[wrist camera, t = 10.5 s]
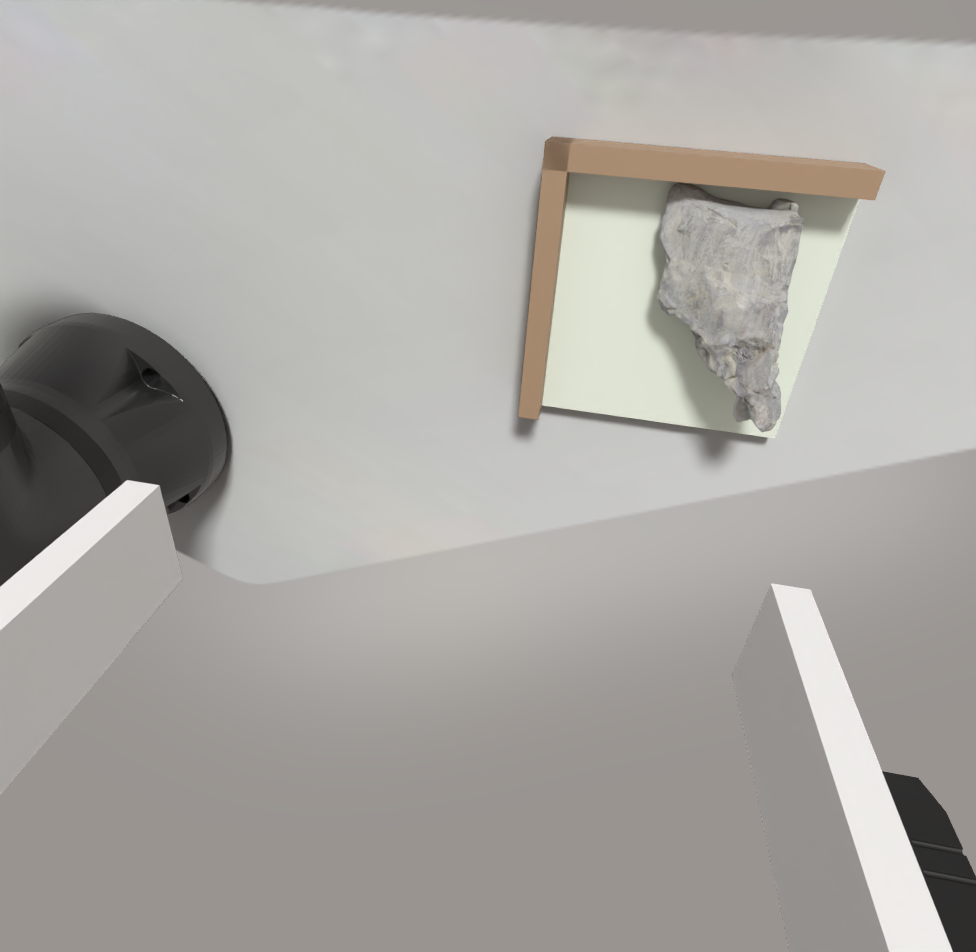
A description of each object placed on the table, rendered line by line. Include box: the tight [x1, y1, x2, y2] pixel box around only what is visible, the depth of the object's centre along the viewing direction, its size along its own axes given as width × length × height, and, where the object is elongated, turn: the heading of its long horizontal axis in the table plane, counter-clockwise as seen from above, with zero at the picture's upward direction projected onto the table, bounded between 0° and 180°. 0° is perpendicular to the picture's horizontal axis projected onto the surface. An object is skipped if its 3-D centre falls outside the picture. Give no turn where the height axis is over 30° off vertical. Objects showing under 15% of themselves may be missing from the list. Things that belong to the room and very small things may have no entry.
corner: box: [518, 137, 885, 438], centre depth 34 cm, size 15×15×3 cm
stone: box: [657, 182, 804, 432], centre depth 32 cm, size 6×12×4 cm, turn 7°
